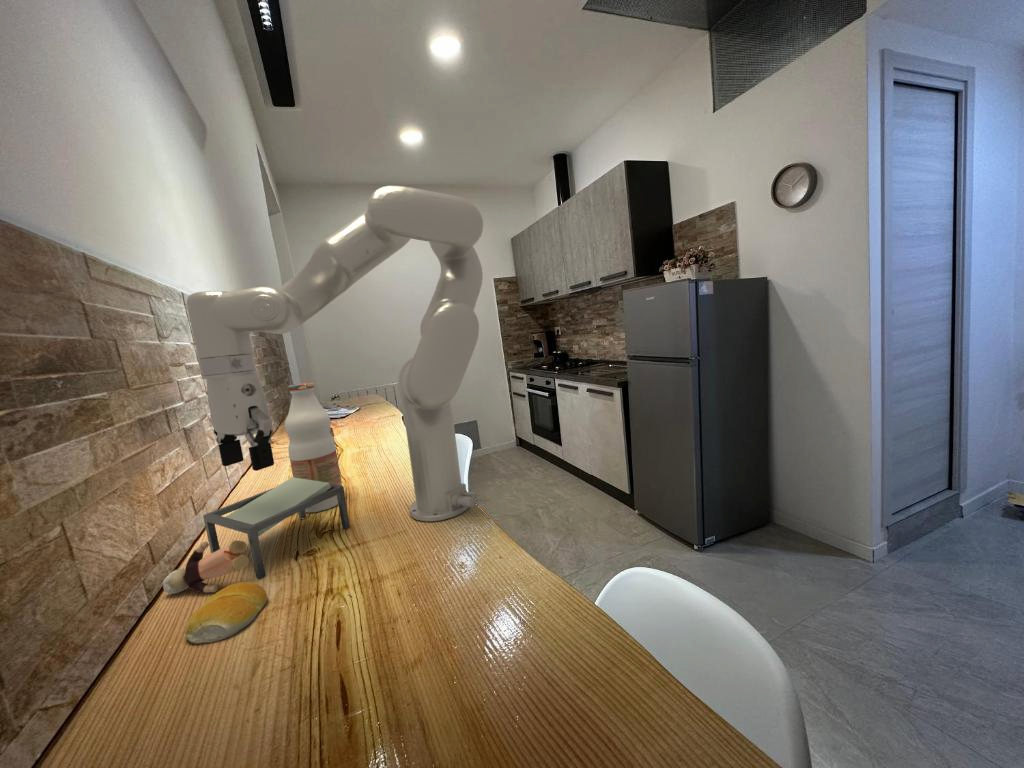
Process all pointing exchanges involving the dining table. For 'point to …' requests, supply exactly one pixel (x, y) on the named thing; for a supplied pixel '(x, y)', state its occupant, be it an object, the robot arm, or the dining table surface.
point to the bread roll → (226, 612)
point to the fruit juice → (311, 442)
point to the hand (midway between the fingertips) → (248, 465)
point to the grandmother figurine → (206, 568)
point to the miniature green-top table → (266, 522)
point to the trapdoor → (279, 501)
